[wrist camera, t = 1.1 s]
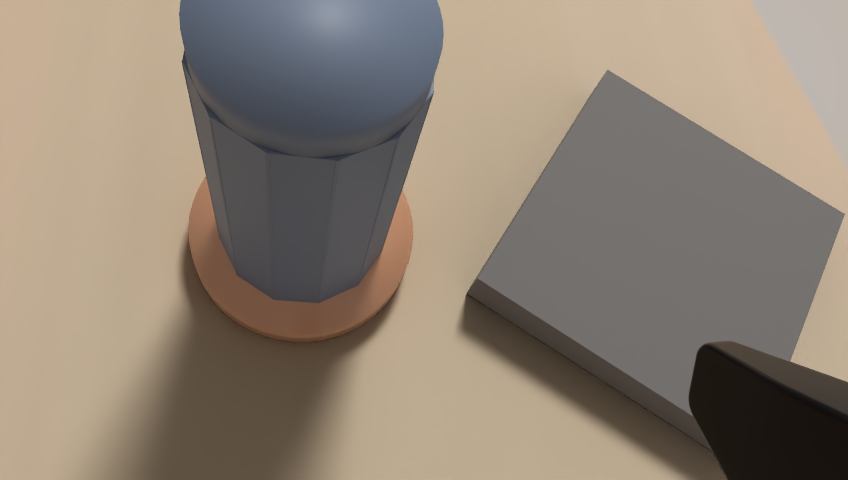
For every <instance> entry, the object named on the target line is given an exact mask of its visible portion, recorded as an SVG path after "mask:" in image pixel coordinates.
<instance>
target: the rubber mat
mask: <svg viewBox="0 0 848 480" xmlns="http://www.w3.org/2000/svg"><path fill="white" fill-rule="evenodd" d="M844 215H845V214H844V213H842V212H840V211H839V210H837V209H835V208H834V207H832V206H830V205H829V204H827V203H826V202H824V201H822V200H821V199H819V198H817V197H816V196H814V195H812V194H811V193H809V192H807V191H806V190H804V189H803V188H801V187H799V186H798V185H796V184H794V183H793V182H791V181H789V180H788V179H786V178H784V177H783V176H781V175H780V174H778V173H776V172H775V171H773V170H771V169H770V168H768V167H766V166H765V165H763V164H761V163H760V162H758V161H757V160H755V159H753V158H752V157H750V156H748V155H747V154H745V153H743V152H742V151H740V150H738V149H737V148H735V147H734V146H732V145H730V144H729V143H727V142H725V141H724V140H722V139H720V138H719V137H717V136H715V135H714V134H712V133H711V132H709V131H707V130H706V129H704V128H702V127H701V126H699V125H697V124H696V123H694V122H692V121H691V120H689V119H688V118H686V117H684V116H683V115H681V114H679V113H678V112H676V111H674V110H673V109H671V108H669V107H668V106H666V105H665V104H663V103H661V102H660V101H658V100H656V99H655V98H653V97H651V96H650V95H648V94H646V93H645V92H643V91H642V90H640V89H638V88H637V87H635V86H633V85H632V84H630V83H628V82H627V81H625V80H623V79H622V78H620V77H619V76H617V75H615V74H614V73H612V72H610V71H609V70H607V71H606V73H605V74H604V76H603V77H602V79H601V80H600V82H599V83H598V85H597V86H596V88H595V89H594V91H593V92H592V94H591V95H590V97H589V99H588V100H587V102H586V103H585V105H584V107H583V108H582V110H581V111H580V113H579V115H578V116H577V118H576V119H575V121H574V123H573V124H572V126H571V127H570V129H569V131H568V132H567V134H566V135H565V137H564V139H563V140H562V142H561V143H560V145H559V147H558V148H557V150H556V151H555V153H554V154H553V156H552V158H551V159H550V161H549V162H548V164H547V166H546V167H545V169H544V170H543V172H542V174H541V175H540V177H539V178H538V180H537V182H536V183H535V185H534V186H533V188H532V190H531V191H530V193H529V194H528V196H527V198H526V199H525V201H524V202H523V204H522V206H521V207H520V209H519V210H518V212H517V214H516V215H515V217H514V218H513V220H512V222H511V223H510V225H509V226H508V228H507V230H506V231H505V233H504V234H503V236H502V238H501V239H500V241H499V242H498V244H497V246H496V247H495V249H494V250H493V252H492V254H491V255H490V257H489V258H488V260H487V262H486V263H485V265H484V266H483V268H482V270H481V271H480V273H479V274H478V276H477V278H476V279H475V281H474V282H473V284H472V286H471V287H470V289H469V290H468V292H467V294H468V295H470V296H471V297H473V298H474V299H476V300H478V301H479V302H481V303H482V304H484V305H485V306H487V307H488V308H490V309H492V310H493V311H495V312H496V313H498V314H499V315H501V316H502V317H504V318H506V319H507V320H509V321H510V322H512V323H513V324H515V325H516V326H518V327H520V328H521V329H523V330H524V331H526V332H527V333H529V334H530V335H532V336H534V337H535V338H537V339H538V340H540V341H541V342H543V343H544V344H546V345H548V346H549V347H551V348H552V349H554V350H555V351H557V352H559V353H560V354H562V355H563V356H565V357H566V358H568V359H569V360H571V361H573V362H574V363H576V364H577V365H579V366H580V367H582V368H583V369H585V370H587V371H588V372H590V373H591V374H593V375H594V376H596V377H597V378H599V379H601V380H602V381H604V382H605V383H607V384H608V385H610V386H611V387H613V388H615V389H616V390H618V391H619V392H621V393H622V394H624V395H625V396H627V397H629V398H630V399H632V400H633V401H635V402H636V403H638V404H639V405H641V406H643V407H644V408H646V409H647V410H649V411H650V412H652V413H653V414H655V415H657V416H658V417H660V418H661V419H663V420H664V421H666V422H667V423H669V424H671V425H672V426H674V427H675V428H677V429H678V430H680V431H681V432H683V433H685V434H686V435H688V436H689V437H691V438H692V439H694V440H695V441H697V442H699V443H700V444H702V445H703V446H705V447H706V448H708V449H709V450H711V449H710V447H709V445H708V443H707V441H706V439H705V437H704V436H703V434H702V432H701V430H700V428H699V426H698V424H697V423H696V421H695V419H694V417H693V415H692V413H691V410H690V407H689V400H688V395H689V389H690V384H691V379H692V374H693V369H694V364H695V359H696V354H697V351H698V349H699V348H700V347H701V346H702V345H703V344H705V343H710V342H720V341H733V342H737V343H739V344H742V345H745V346H748V347H751V348H753V349H756V350H759V351H762V352H765V353H767V354H770V355H773V356H776V357H779V358H781V359H784V360H787V361H790V360H791V357H792V355H793V352H794V349H795V347H796V344H797V341H798V338H799V336H800V333H801V330H802V328H803V325H804V322H805V320H806V317H807V314H808V312H809V309H810V306H811V303H812V301H813V298H814V295H815V293H816V290H817V287H818V285H819V282H820V279H821V277H822V274H823V271H824V268H825V266H826V263H827V260H828V258H829V255H830V252H831V250H832V247H833V244H834V242H835V239H836V236H837V234H838V231H839V228H840V225H841V223H842V220H843V217H844ZM711 451H712V450H711Z"/></svg>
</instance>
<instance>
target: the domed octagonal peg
mask: <svg viewBox="0 0 848 480" xmlns="http://www.w3.org/2000/svg"><path fill="white" fill-rule="evenodd" d="M179 16H180V30H181V35H182V39H183V44H184V49H185V50H184V55H183V60H182V65H183V70H184V75H185V79H186V84H187V89H188V93H189V98H190V103H191V107H192V112H193V117H194V121H195V126H196V131H197V135H198V140H199V145H200V149H201V154H202V159H203V163H204V168H205V173H206V177H207V182H208V187H209V191H210V196H211V201H212V205H213V210H214V215H215V220H216V224H217V229H218V234H219V238H220V240H221V242H222V244H223V246H224V248H225V250H226V253H227V255H228V257H229V259H230V261H231V263H232V265H233V267H234V269H235V272H236V275H237V276H239V277H240V278H242V279H243V280H245V281H246V282H248V283H249V284H251V285H252V286H254V287H255V288H257V289H258V290H260V291H261V292H263V293H264V294H266V295H268V296H269V297H271V298H272V299H273V300H284V301H297V302H310V303H320V302H322V301H325V300H327V299H329V298H331V297H333V296H336V295H338V294H340V293H342V292H345V291H347V290H349V289H351V288H354V287H356V286H358V285H359V283H360V282H361V281H362V279H363V278H364V276H365V275H366V274H367V272H368V271H369V269H370V268H371V266H372V265H373V264H374V262H375V261H376V259H377V258H378V257H379V255H380V254H381V253H382V250H383V247H384V244H385V241H386V238H387V234H388V231H389V228H390V225H391V222H392V219H393V216H394V213H395V210H396V207H397V204H398V201H399V198H400V195H401V192H402V188H403V185H404V182H405V179H406V176H407V173H408V170H409V167H410V164H411V161H412V158H413V155H414V152H415V149H416V146H417V143H418V139H419V136H420V133H421V130H422V127H423V124H424V121H425V118H426V115H427V112H428V109H429V106H430V103H431V100H432V97H433V94H434V75H435V72H436V68H437V65H438V62H439V58H440V55H441V51H442V45H443V21H442V16H441V12H440V8H439V5H438V2H437V0H181V3H180V12H179Z"/></svg>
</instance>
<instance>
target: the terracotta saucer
mask: <svg viewBox="0 0 848 480" xmlns="http://www.w3.org/2000/svg"><path fill="white" fill-rule="evenodd" d="M188 231H189V245H190V249H191V254H192V258H193V261H194V264H195V267H196V270H197V273H198V276H199V278H200V281H201V283H202V285H203V287H204V288H205V290H206V292H207V294H208V295H209V296H210V298H211V299H212V300H213V302H214V303H215V304H216V305H217V306H218V307H219V308H220V309H221V310H222V311H223V312H224V313H225V314H226V315H227V316H228V317H229V318H231V319H232V320H233V321H235V322H236V323H237V324H239V325H241V326H243V327H244V328H246V329H248V330H250V331H252V332H254V333H257V334H259V335H262V336H265V337H268V338H272V339H276V340H281V341H289V342H313V341H321V340H326V339H330V338H334V337H337V336H340V335H343V334H345V333H348V332H350V331H352V330H354V329H356V328H357V327H359V326H361V325H363V324H364V323H366V322H367V321H368V320H370V319H371V318H372V317H374V316H375V315H376V314H377V313H378V312H379V311H380V310H381V309H382V308H383V307H384V306H385V305H386V303H387V302H388V301H389V300H390V298H391V297H392V296H393V294H394V292H395V290H396V289H397V287H398V285H399V283H400V281H401V279H402V276H403V274H404V271H405V269H406V267H407V264H408V261H409V257H410V253H411V249H412V240H413V225H412V218H411V212H410V209H409V205H408V202H407V199H406V197H405V195H404V193H403V191H402V192H401V195H400V198H399V201H398V204H397V207H396V210H395V213H394V216H393V219H392V222H391V225H390V228H389V231H388V234H387V238H386V241H385V244H384V247H383V250H382V253H381V254H380V255H379V257H378V258H377V259H376V261H375V262H374V264H373V265H372V266H371V268H370V269H369V271H368V272H367V274H366V275H365V276H364V278H363V279H362V281H361V282H360V283H359V285H358V286H356V287H354V288H351V289H349V290H347V291H345V292H342V293H340V294H338V295H336V296H333V297H331V298H329V299H327V300H325V301H322V302H320V303H310V302H297V301H284V300H273V299H272V298H271V297H269V296H268V295H266V294H264V293H263V292H261V291H260V290H258V289H257V288H255V287H254V286H252V285H251V284H249V283H248V282H246V281H245V280H243V279H242V278H240V277H239V276H237V275H236V272H235V269H234V267H233V265H232V263H231V261H230V259H229V257H228V255H227V253H226V250H225V248H224V246H223V244H222V242H221V240H220V238H219V234H218V229H217V224H216V220H215V215H214V210H213V205H212V201H211V196H210V191H209V187H208V182H207V177H205V179H204V180H203V182H202V184H201V185H200V187H199V189H198V191H197V193H196V196H195V198H194V201H193V204H192V208H191V212H190V217H189V228H188Z"/></svg>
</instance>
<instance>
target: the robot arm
mask: <svg viewBox="0 0 848 480" xmlns="http://www.w3.org/2000/svg"><path fill="white" fill-rule="evenodd" d="M688 400H689V407H690V410H691V413H692V415H693V417H694V419H695V421H696V423H697V424H698V426H699V428H700V430H701V432H702V434H703V436H704V437H705V439H706V441H707V443H708V445H709V447H710V449H711V450H712V452H713V454H714V456H715V458H716V460H717V462H718V463H719V465H720V467H721V469H722V471H723V473H724V474H725V476H726V478H727V480H848V382H846V381H843V380H840V379H837V378H835V377H832V376H829V375H826V374H823V373H821V372H818V371H815V370H812V369H809V368H807V367H804V366H801V365H798V364H795V363H793V362H790V361H787V360H784V359H781V358H779V357H776V356H773V355H770V354H767V353H765V352H762V351H759V350H756V349H753V348H751V347H748V346H745V345H742V344H739V343H737V342H733V341H720V342H710V343H705V344H703V345H702V346H701V347H700V348H699V349H698V351H697V354H696V359H695V364H694V369H693V374H692V379H691V384H690V389H689V395H688Z"/></svg>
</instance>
